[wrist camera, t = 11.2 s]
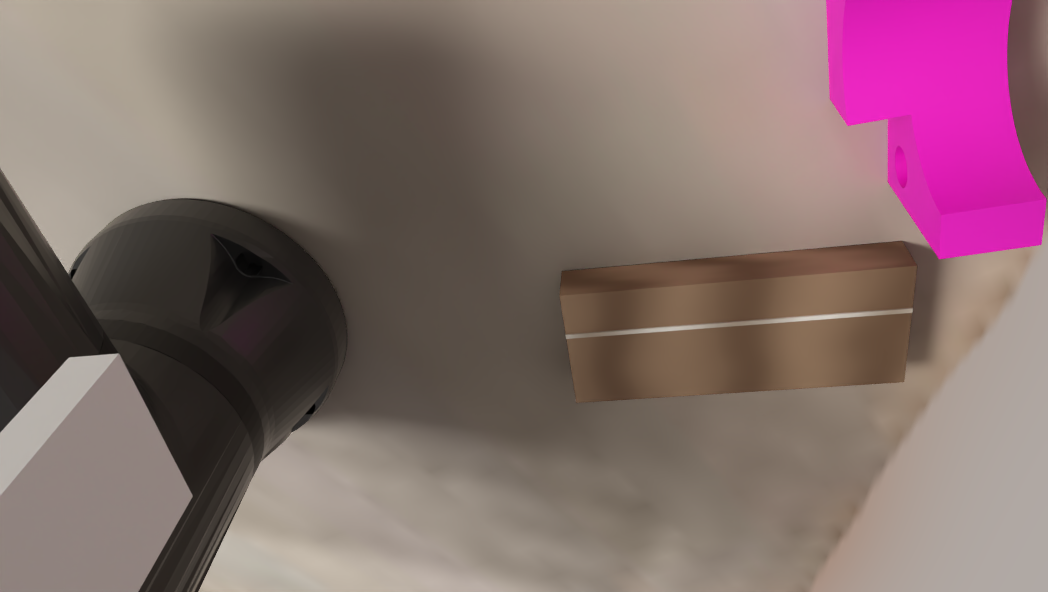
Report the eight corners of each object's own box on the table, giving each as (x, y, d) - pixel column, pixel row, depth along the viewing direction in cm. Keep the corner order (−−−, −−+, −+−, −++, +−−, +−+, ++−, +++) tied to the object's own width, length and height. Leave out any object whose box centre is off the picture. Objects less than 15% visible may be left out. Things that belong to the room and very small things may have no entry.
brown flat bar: (577, 375, 47) (576, 403, 45) (561, 271, 43) (559, 296, 41) (890, 354, 44) (904, 383, 42) (902, 241, 41) (917, 266, 39)
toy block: (819, -156, 32) (871, -136, 26) (993, -197, 31) (1091, -188, 24) (831, 189, 40) (873, 268, 33) (971, 166, 38) (1041, 244, 32)
